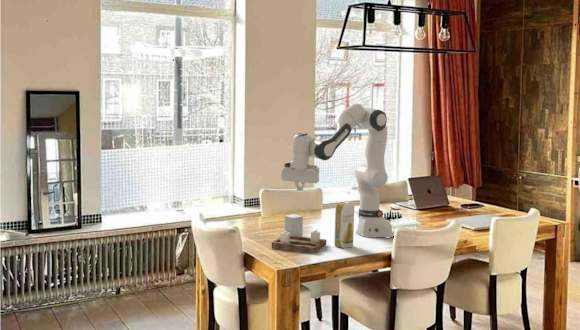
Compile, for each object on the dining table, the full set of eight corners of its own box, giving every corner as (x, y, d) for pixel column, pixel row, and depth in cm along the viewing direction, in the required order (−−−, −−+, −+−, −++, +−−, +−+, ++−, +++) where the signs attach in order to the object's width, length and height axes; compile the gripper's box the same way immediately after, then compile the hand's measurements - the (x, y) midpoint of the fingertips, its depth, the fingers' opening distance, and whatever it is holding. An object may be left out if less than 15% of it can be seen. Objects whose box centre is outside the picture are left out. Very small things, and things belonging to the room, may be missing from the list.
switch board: (326, 245, 341) (326, 239, 341) (315, 253, 325) (315, 247, 324) (284, 240, 350) (284, 234, 349) (271, 248, 333) (271, 242, 333)
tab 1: (289, 244, 336) (290, 231, 335) (287, 246, 333) (287, 232, 332) (282, 243, 337) (283, 230, 336) (280, 245, 334) (280, 231, 333)
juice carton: (342, 249, 334) (344, 203, 330) (332, 246, 340) (333, 201, 336) (355, 246, 340) (356, 201, 336) (344, 243, 346) (346, 199, 342)
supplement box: (302, 238, 354) (303, 216, 352) (292, 240, 349) (292, 217, 347) (294, 236, 359) (294, 213, 358) (284, 237, 355) (284, 215, 353)
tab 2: (319, 243, 339) (320, 230, 338) (317, 245, 336) (318, 231, 335) (312, 242, 341) (313, 229, 340) (310, 244, 338) (310, 230, 337)
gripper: (321, 164, 335) (320, 191, 337) (284, 162, 343) (284, 187, 344) (317, 166, 329) (316, 193, 331) (280, 163, 337) (279, 189, 339)
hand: (299, 190), depth 338 cm, fingers closed
